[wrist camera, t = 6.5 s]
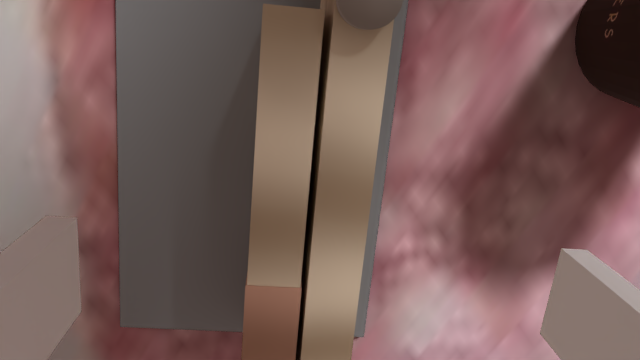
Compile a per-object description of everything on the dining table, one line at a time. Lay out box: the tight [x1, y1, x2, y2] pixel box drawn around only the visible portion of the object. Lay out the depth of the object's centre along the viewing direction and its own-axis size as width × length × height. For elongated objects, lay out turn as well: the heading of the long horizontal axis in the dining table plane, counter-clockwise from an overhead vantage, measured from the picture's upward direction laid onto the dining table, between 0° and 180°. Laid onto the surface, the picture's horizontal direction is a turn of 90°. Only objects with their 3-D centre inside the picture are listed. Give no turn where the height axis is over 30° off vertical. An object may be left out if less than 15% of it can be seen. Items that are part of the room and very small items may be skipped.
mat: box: [116, 0, 408, 337], centre depth 25 cm, size 19×13×1 cm
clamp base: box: [295, 0, 403, 360], centre depth 21 cm, size 18×2×8 cm, turn 175°
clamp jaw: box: [241, 4, 325, 360], centre depth 22 cm, size 16×2×7 cm, turn 175°
